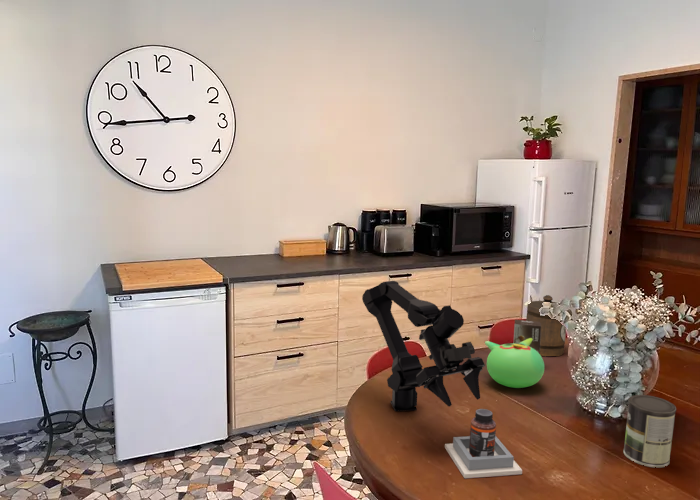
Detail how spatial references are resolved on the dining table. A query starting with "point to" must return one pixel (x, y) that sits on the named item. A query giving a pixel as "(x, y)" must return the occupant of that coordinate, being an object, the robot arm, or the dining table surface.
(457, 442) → the cup holder
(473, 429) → the supplement bottle
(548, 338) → the wooden container
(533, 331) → the coffee box
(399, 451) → the dining table surface
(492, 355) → the toy bird
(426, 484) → the dining table surface
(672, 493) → the dining table surface
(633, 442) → the coffee can
